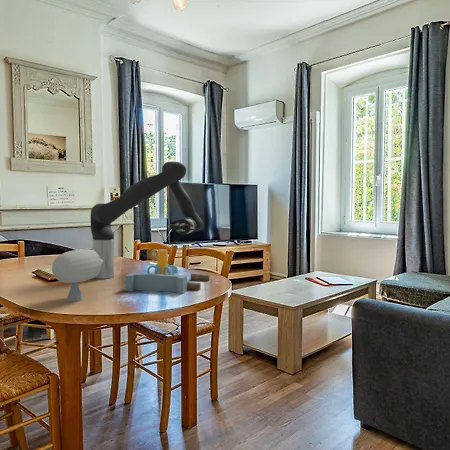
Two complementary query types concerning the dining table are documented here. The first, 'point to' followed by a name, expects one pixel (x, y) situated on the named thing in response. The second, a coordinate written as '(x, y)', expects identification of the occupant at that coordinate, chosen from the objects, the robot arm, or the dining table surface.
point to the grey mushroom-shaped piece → (76, 269)
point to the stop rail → (156, 282)
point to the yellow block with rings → (162, 264)
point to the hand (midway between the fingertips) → (175, 227)
